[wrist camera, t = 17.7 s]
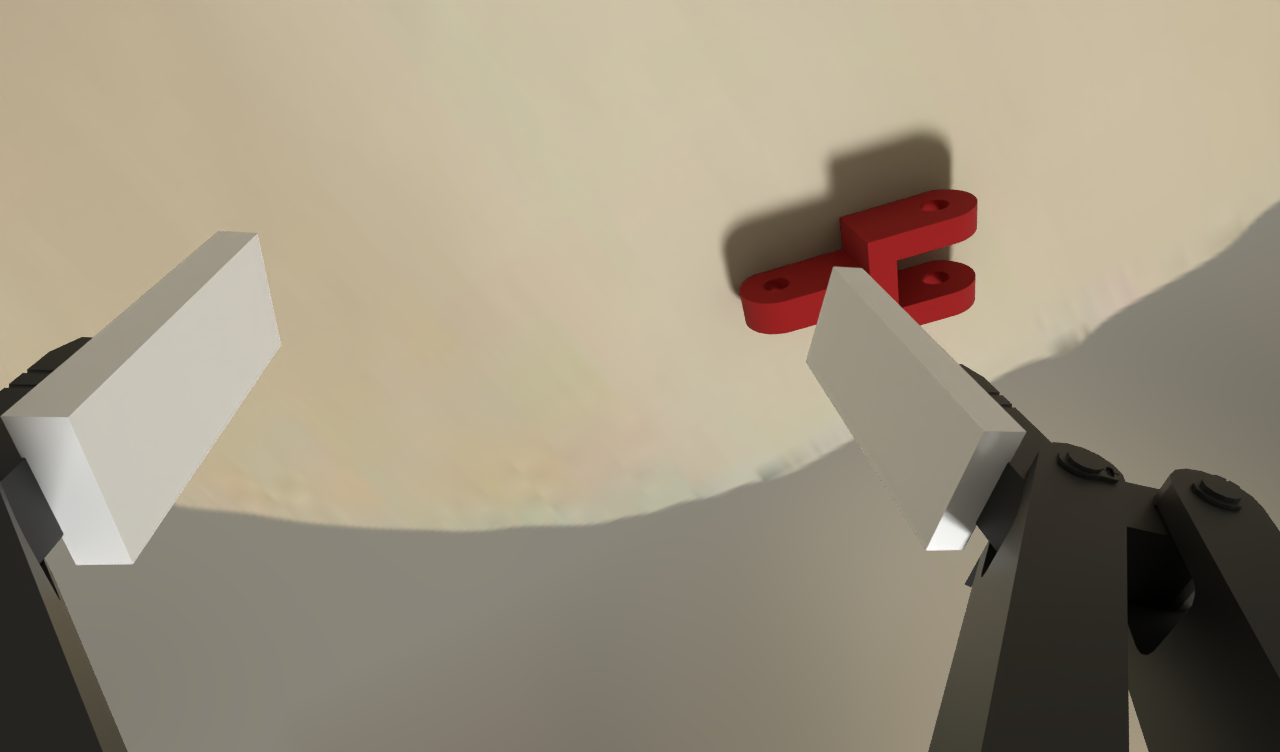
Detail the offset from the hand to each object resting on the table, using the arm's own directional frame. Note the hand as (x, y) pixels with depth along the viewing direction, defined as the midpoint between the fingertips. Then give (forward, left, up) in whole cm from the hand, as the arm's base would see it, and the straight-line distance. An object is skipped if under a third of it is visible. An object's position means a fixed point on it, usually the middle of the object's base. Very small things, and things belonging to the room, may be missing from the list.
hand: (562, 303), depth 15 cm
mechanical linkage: (+21, -9, -28) cm, 36 cm away
